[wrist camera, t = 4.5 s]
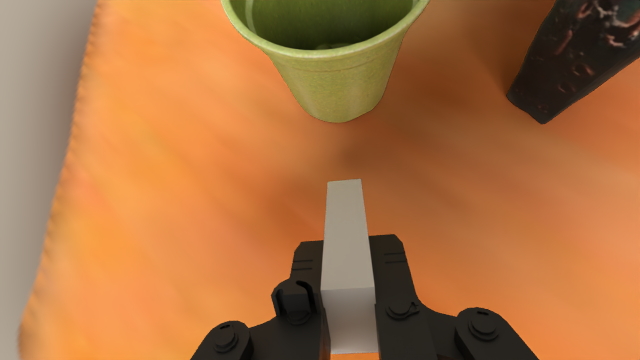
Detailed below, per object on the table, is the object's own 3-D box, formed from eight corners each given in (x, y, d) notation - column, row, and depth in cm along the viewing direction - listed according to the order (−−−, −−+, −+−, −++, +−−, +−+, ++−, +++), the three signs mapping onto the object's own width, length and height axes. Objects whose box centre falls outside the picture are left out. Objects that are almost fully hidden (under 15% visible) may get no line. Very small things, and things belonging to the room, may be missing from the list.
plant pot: (295, 16, 24) (260, -121, 16) (426, 36, 22) (460, -108, 14) (251, 129, 22) (184, 35, 14) (393, 162, 20) (412, 76, 12)
